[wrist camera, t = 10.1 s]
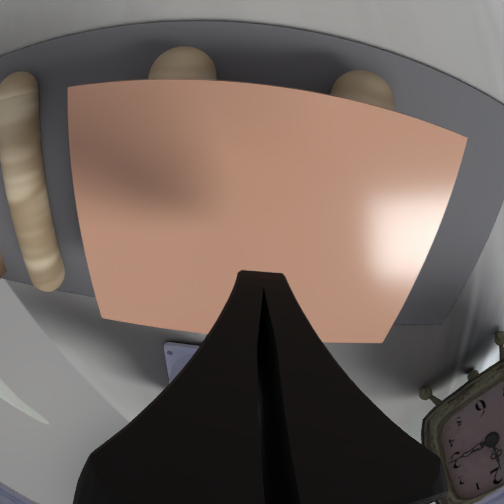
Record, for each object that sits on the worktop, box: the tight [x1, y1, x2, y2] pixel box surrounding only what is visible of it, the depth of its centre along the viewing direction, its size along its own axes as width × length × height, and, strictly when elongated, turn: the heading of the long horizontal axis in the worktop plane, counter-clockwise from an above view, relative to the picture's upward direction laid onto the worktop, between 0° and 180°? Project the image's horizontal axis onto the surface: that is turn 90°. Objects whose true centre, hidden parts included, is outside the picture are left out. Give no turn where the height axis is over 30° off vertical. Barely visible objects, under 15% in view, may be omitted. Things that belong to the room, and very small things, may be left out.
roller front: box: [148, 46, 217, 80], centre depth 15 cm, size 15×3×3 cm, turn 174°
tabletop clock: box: [419, 331, 504, 504], centre depth 17 cm, size 14×9×25 cm, turn 141°
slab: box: [68, 79, 468, 343], centre depth 13 cm, size 12×16×2 cm
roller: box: [0, 71, 65, 292], centre depth 14 cm, size 15×3×3 cm, turn 174°
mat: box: [0, 21, 504, 325], centre depth 16 cm, size 18×40×1 cm, turn 84°
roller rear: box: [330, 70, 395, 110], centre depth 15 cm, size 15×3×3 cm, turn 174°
